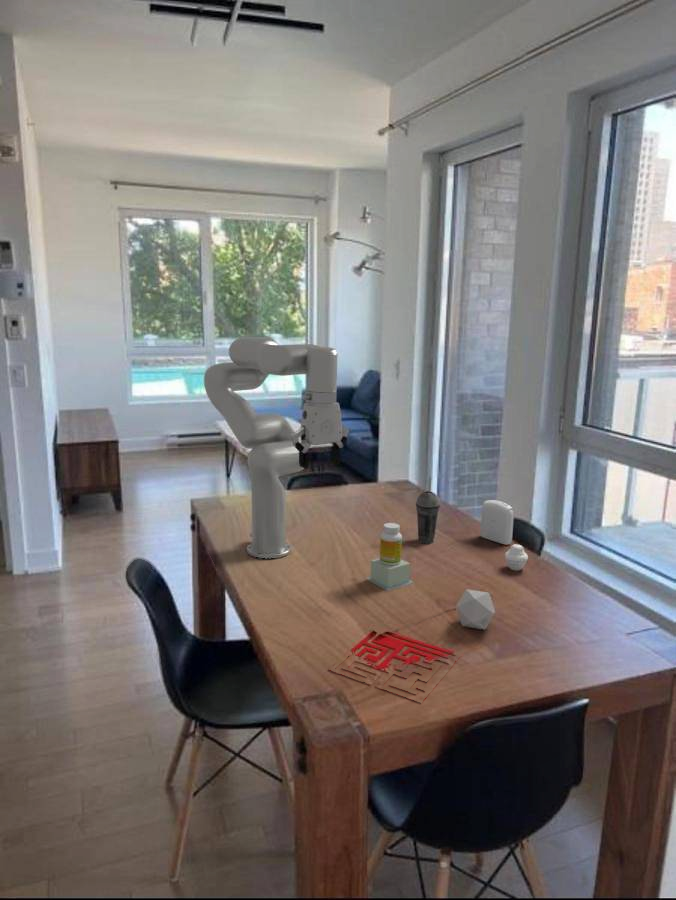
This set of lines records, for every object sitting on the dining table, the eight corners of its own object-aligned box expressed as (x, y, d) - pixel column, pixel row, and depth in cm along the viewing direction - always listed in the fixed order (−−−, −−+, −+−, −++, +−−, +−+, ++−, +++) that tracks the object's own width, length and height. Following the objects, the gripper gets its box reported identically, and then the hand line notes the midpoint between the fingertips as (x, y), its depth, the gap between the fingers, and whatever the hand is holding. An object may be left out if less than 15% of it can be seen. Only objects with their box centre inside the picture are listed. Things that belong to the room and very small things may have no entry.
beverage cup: (411, 543, 197) (414, 479, 193) (417, 535, 204) (420, 473, 199) (434, 546, 194) (438, 481, 190) (440, 538, 201) (444, 476, 197)
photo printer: (477, 536, 204) (480, 498, 201) (486, 533, 206) (489, 496, 204) (505, 546, 196) (508, 507, 193) (513, 543, 199) (517, 504, 196)
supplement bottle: (399, 566, 163) (401, 529, 161) (378, 564, 164) (379, 527, 162) (402, 558, 168) (403, 522, 166) (381, 556, 169) (382, 521, 167)
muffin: (527, 573, 176) (529, 549, 175) (504, 571, 177) (506, 547, 176) (526, 565, 182) (528, 541, 181) (503, 563, 183) (505, 539, 182)
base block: (370, 578, 168) (371, 560, 167) (391, 572, 172) (391, 554, 171) (388, 588, 162) (388, 569, 161) (409, 581, 167) (410, 563, 165)
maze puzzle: (327, 672, 128) (328, 669, 128) (376, 630, 145) (376, 627, 145) (421, 706, 118) (421, 702, 118) (461, 657, 135) (462, 654, 135)
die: (475, 641, 142) (503, 606, 141) (444, 614, 145) (471, 580, 144) (479, 637, 149) (505, 604, 149) (449, 611, 152) (475, 579, 152)
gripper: (300, 402, 154) (299, 472, 158) (358, 397, 164) (355, 463, 168) (283, 398, 160) (282, 465, 164) (340, 393, 170) (338, 457, 174)
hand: (319, 464), depth 166 cm, fingers open, 9 cm apart
